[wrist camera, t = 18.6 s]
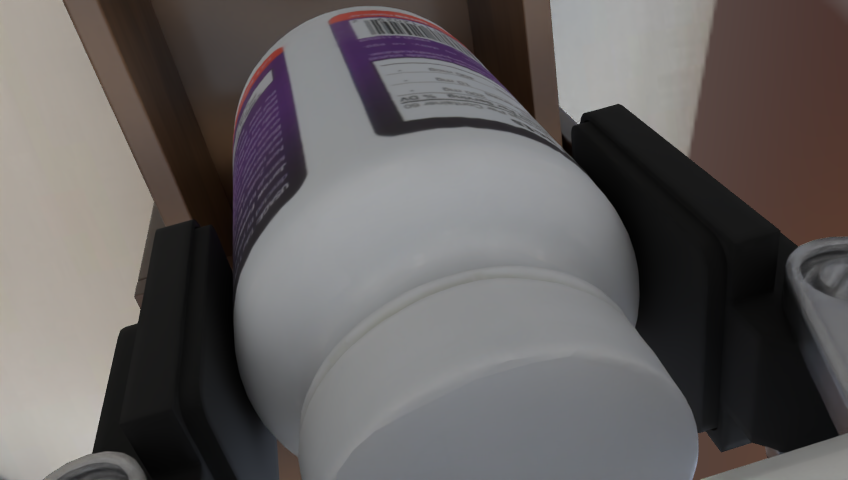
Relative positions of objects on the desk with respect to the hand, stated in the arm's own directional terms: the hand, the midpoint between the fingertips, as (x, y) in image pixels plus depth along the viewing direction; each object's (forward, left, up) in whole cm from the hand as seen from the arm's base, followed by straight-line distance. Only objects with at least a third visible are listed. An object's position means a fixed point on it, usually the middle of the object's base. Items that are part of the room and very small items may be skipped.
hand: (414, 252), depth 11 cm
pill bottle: (0, 0, -5) cm, 5 cm away
